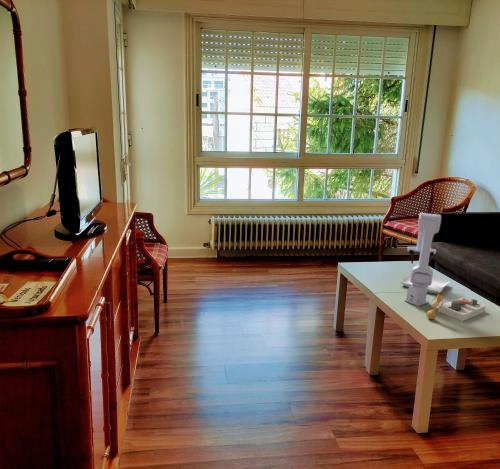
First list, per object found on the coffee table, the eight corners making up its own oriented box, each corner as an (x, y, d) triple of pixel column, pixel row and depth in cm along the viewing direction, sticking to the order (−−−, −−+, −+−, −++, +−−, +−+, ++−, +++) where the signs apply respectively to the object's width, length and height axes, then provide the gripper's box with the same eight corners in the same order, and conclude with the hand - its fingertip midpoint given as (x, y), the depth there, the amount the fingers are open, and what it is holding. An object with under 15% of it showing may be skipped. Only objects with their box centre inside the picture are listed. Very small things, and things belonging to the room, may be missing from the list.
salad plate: (439, 297, 232) (440, 291, 231) (398, 286, 244) (399, 280, 243) (449, 286, 248) (450, 280, 247) (411, 277, 261) (412, 271, 260)
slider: (474, 305, 214) (474, 301, 214) (470, 303, 216) (470, 300, 215) (476, 304, 216) (477, 300, 215) (472, 302, 217) (473, 299, 217)
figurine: (422, 314, 209) (426, 290, 206) (435, 315, 209) (439, 291, 206) (430, 322, 201) (434, 297, 198) (443, 323, 201) (447, 298, 198)
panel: (462, 321, 204) (464, 313, 203) (438, 311, 213) (439, 303, 212) (484, 311, 216) (486, 304, 215) (460, 303, 225) (462, 295, 224)
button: (457, 311, 207) (458, 305, 207) (448, 308, 211) (449, 301, 210) (462, 309, 210) (463, 303, 209) (453, 306, 213) (455, 299, 213)
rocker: (470, 304, 209) (469, 301, 209) (453, 302, 216) (453, 300, 216) (473, 303, 211) (473, 300, 211) (457, 301, 217) (456, 299, 217)
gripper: (436, 239, 247) (432, 262, 252) (408, 237, 250) (405, 259, 255) (437, 244, 240) (433, 267, 246) (409, 242, 244) (405, 264, 249)
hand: (419, 263), depth 250 cm, fingers open, 7 cm apart
